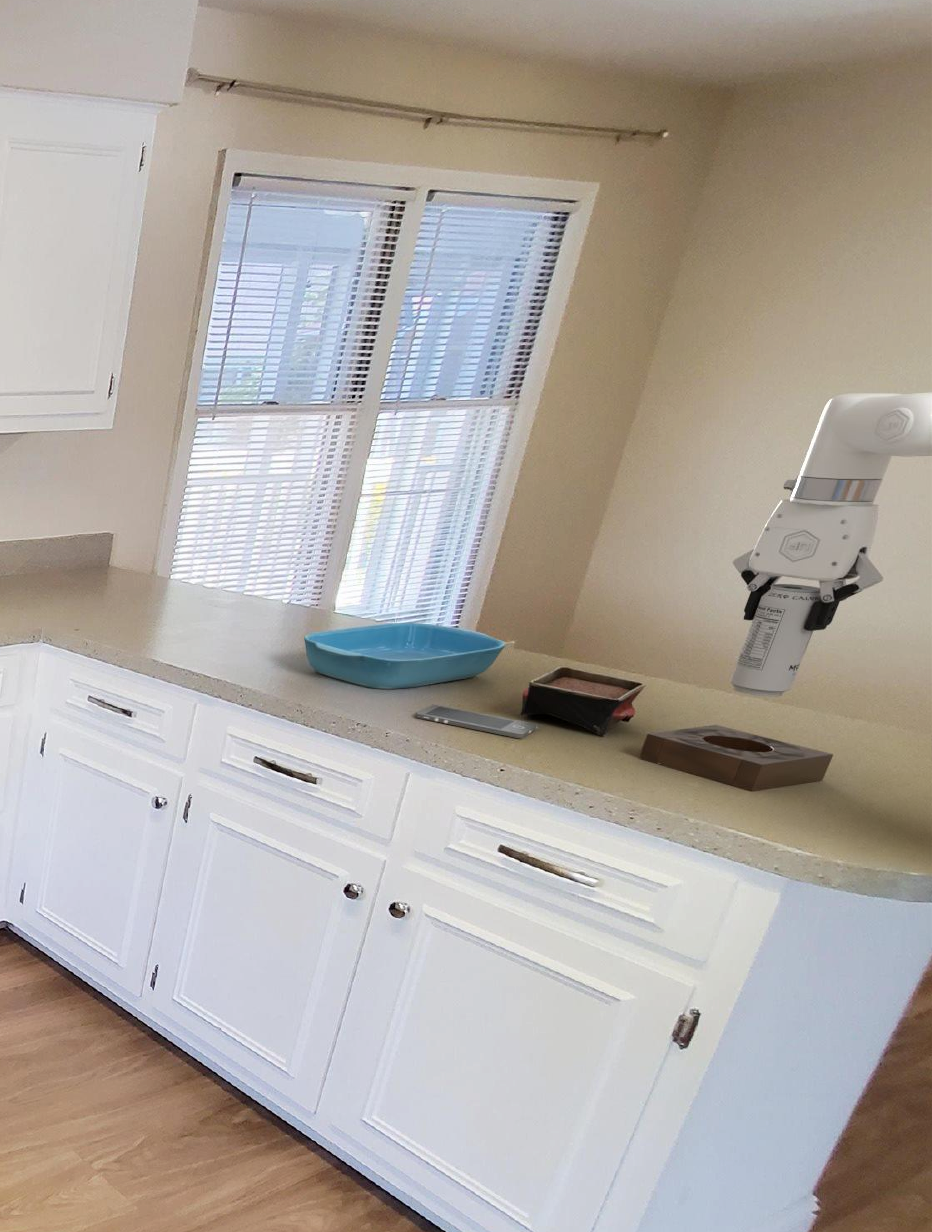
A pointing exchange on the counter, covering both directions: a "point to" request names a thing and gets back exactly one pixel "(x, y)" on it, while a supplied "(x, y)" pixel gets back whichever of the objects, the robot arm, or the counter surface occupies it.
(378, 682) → the casserole dish
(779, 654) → the energy drink can
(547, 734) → the counter surface
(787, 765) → the holder
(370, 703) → the counter surface
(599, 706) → the dark brown bonsai pot
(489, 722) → the smartphone
